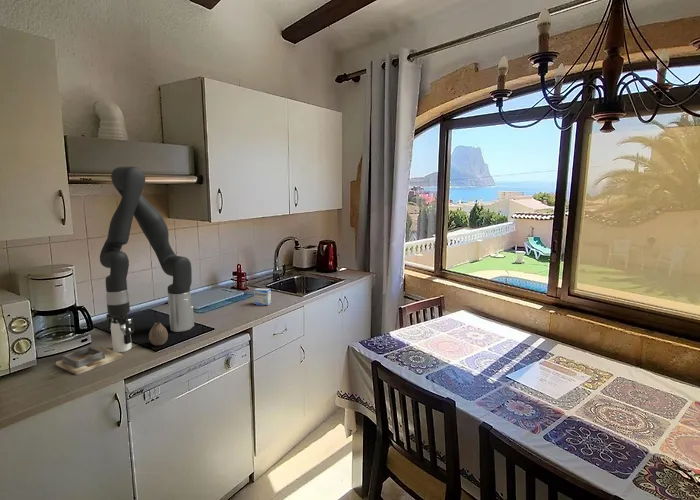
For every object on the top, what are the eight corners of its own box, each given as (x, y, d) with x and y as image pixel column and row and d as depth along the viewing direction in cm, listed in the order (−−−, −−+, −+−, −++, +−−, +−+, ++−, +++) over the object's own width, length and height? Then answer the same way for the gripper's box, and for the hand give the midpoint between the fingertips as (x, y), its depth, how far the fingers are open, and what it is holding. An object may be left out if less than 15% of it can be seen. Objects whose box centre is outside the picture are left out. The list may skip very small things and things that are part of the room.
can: (123, 353, 152) (120, 324, 150) (109, 352, 153) (106, 322, 151) (135, 347, 158) (133, 318, 156) (121, 345, 160) (119, 317, 158)
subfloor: (102, 349, 156) (101, 340, 155) (122, 357, 149) (122, 348, 148) (56, 365, 142) (54, 355, 141) (76, 374, 135) (75, 364, 135)
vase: (172, 341, 164) (170, 321, 162) (159, 348, 157) (157, 327, 156) (159, 339, 166) (157, 319, 165) (145, 345, 160) (144, 325, 158)
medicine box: (254, 305, 213) (253, 289, 212) (257, 302, 218) (257, 287, 216) (268, 306, 212) (267, 290, 211) (271, 303, 216) (270, 288, 215)
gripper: (138, 301, 152) (141, 341, 155) (117, 296, 159) (120, 334, 162) (119, 306, 146) (122, 348, 149) (97, 300, 153) (101, 340, 155)
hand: (121, 341), depth 155 cm, fingers open, 7 cm apart
